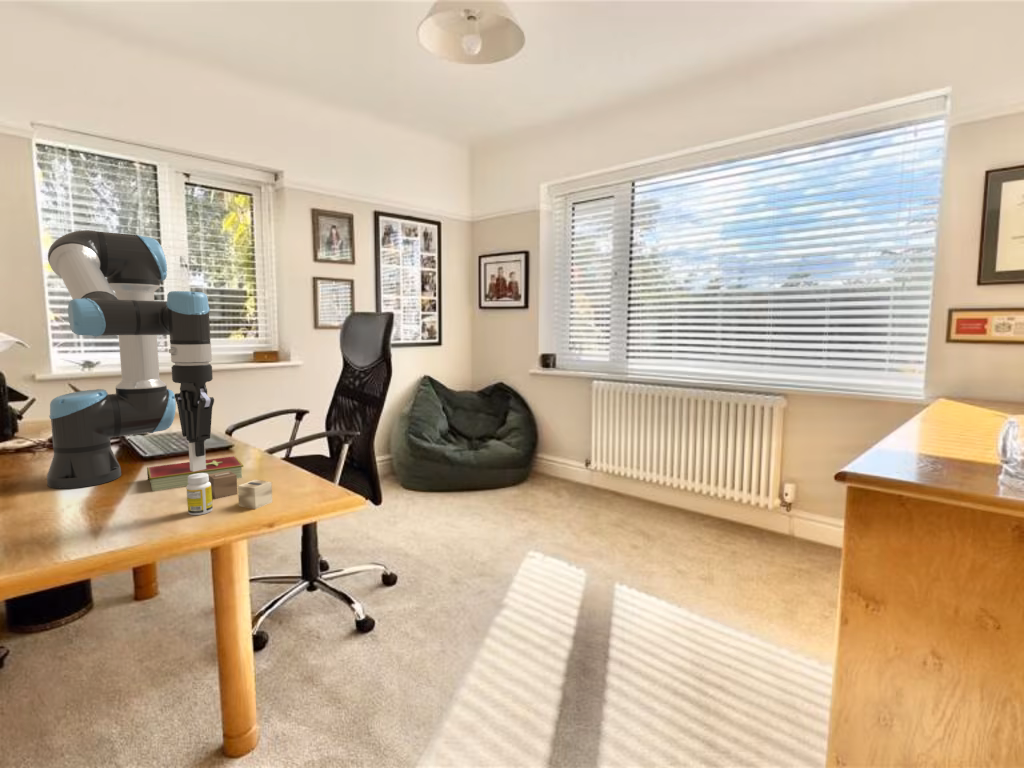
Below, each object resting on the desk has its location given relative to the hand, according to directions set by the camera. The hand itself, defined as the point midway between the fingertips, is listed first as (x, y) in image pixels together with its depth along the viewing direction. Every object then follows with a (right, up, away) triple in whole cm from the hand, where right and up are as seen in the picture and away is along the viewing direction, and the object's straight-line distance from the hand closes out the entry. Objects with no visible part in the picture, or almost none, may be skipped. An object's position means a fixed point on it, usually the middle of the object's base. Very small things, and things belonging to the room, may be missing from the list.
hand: (198, 469), depth 117 cm
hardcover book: (-15, -7, +25) cm, 30 cm away
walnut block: (-2, -8, +13) cm, 16 cm away
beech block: (+10, -9, +7) cm, 15 cm away
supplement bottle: (0, -10, +1) cm, 10 cm away
